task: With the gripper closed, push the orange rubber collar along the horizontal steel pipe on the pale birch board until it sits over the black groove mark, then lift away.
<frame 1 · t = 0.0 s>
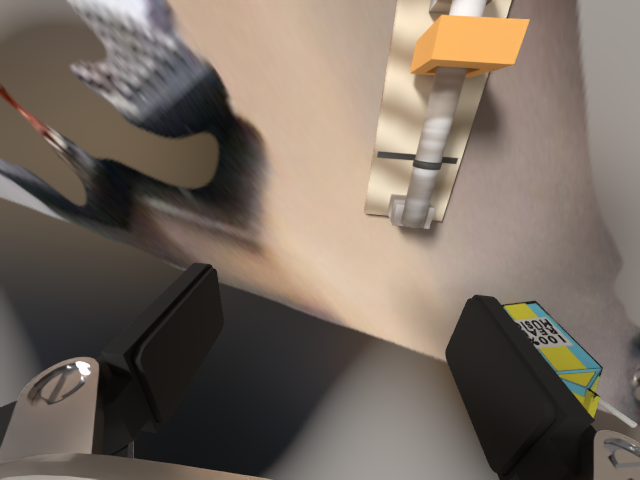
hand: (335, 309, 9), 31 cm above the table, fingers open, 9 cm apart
collar: (458, 51, 25), point 7 cm above the table, slide at 0.0 cm
carton: (514, 316, 47), on the table
pipe rig: (424, 117, 33), on the table
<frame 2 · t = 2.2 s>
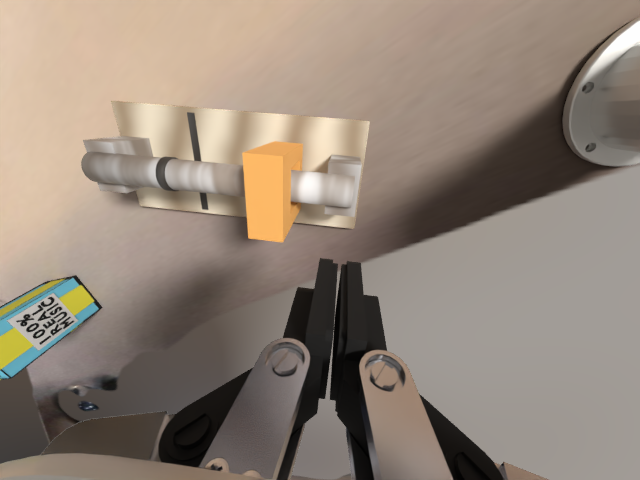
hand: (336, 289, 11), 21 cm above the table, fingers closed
collar: (278, 186, 23), point 7 cm above the table, slide at 0.0 cm
carton: (76, 296, 43), on the table
pipe rig: (243, 167, 30), on the table
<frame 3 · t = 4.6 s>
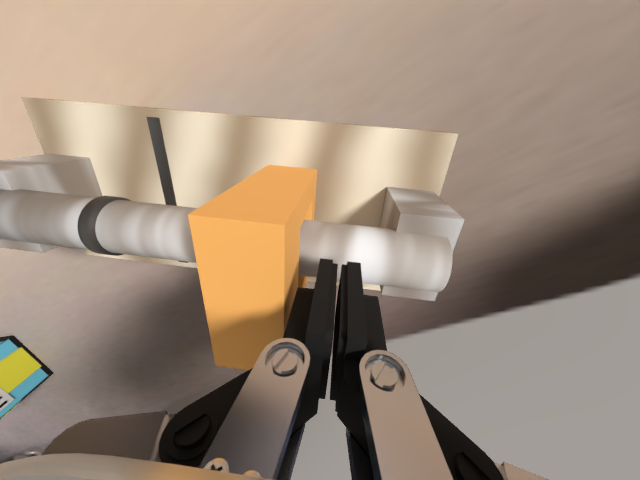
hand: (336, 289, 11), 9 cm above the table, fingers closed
collar: (274, 251, 13), point 7 cm above the table, slide at 1.5 cm, touching gripper
carton: (18, 358, 33), on the table
pipe rig: (241, 201, 19), on the table
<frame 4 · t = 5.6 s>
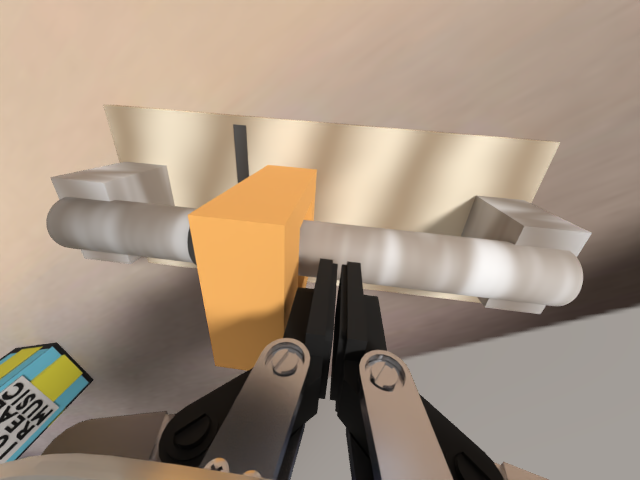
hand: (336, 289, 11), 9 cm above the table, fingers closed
collar: (274, 251, 13), point 7 cm above the table, slide at 7.3 cm, touching gripper
carton: (58, 365, 32), on the table
pipe rig: (315, 209, 19), on the table
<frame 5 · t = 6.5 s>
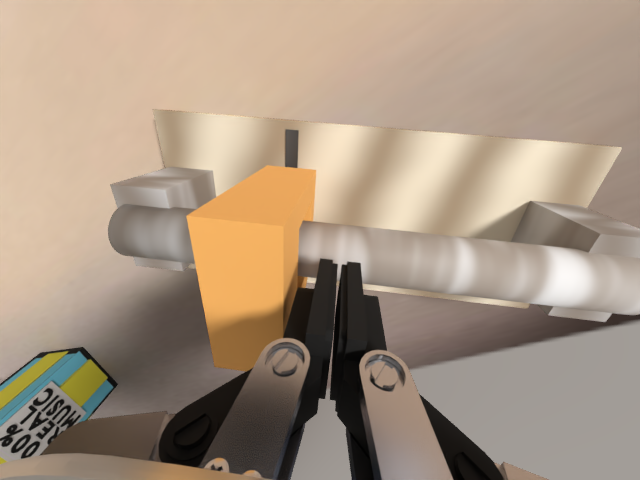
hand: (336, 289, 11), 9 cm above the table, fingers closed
collar: (273, 252, 13), point 7 cm above the table, slide at 10.7 cm, touching gripper
carton: (83, 369, 32), on the table
pipe rig: (359, 214, 19), on the table
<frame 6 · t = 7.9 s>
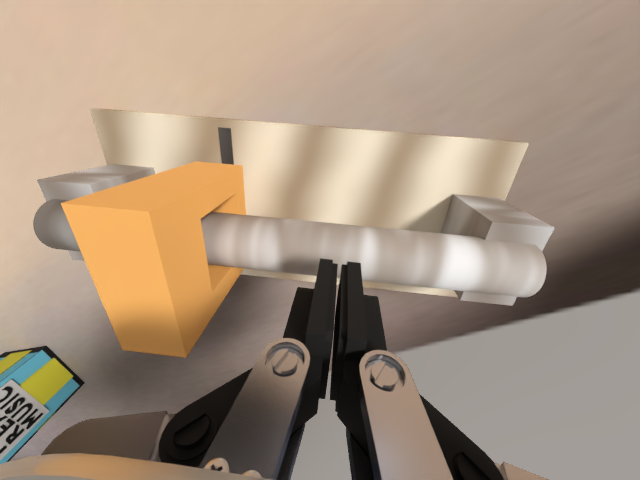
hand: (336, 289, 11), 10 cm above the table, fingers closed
collar: (192, 242, 13), point 7 cm above the table, slide at 10.9 cm
carton: (49, 369, 32), on the table
pipe rig: (300, 209, 19), on the table
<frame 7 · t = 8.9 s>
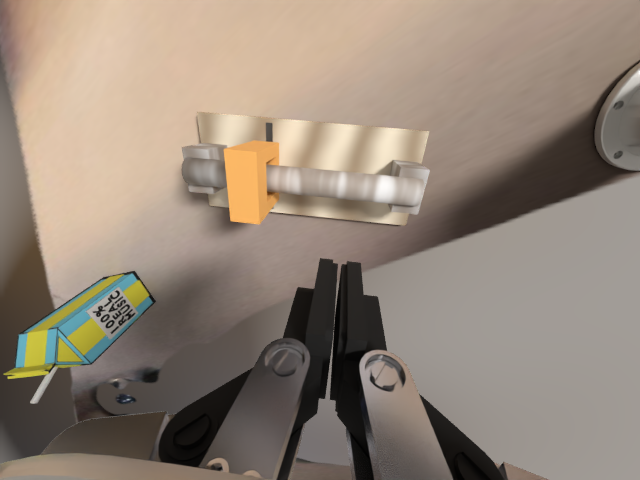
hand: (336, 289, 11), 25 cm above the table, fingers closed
collar: (256, 178, 27), point 7 cm above the table, slide at 10.9 cm
carton: (131, 290, 46), on the table
pipe rig: (308, 170, 33), on the table
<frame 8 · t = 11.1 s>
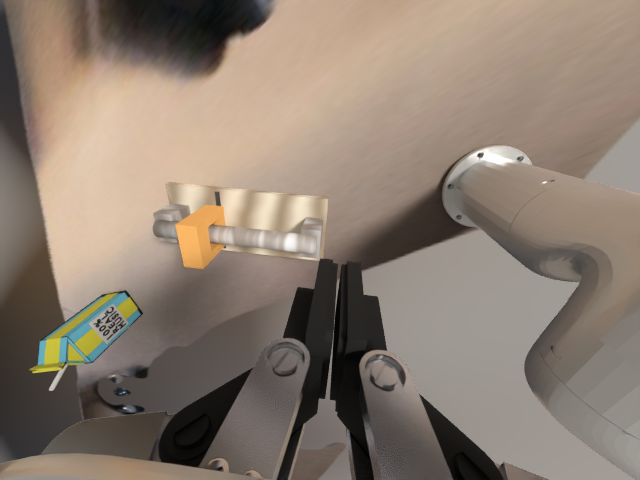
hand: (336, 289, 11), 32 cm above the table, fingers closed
collar: (204, 235, 40), point 7 cm above the table, slide at 10.9 cm
carton: (124, 305, 59), on the table
pipe rig: (249, 222, 45), on the table
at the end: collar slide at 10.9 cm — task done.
